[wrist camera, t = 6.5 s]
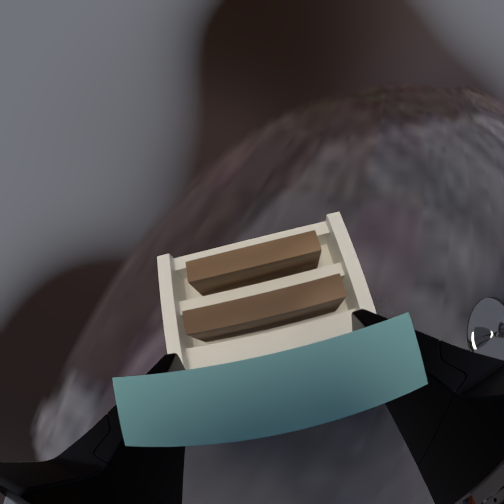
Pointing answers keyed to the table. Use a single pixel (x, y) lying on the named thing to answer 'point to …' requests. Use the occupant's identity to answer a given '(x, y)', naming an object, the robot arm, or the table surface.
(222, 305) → the walnut offcut
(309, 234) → the walnut offcut
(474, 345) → the wine glass
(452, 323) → the table surface
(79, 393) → the table surface
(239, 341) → the offcut rack
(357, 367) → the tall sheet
